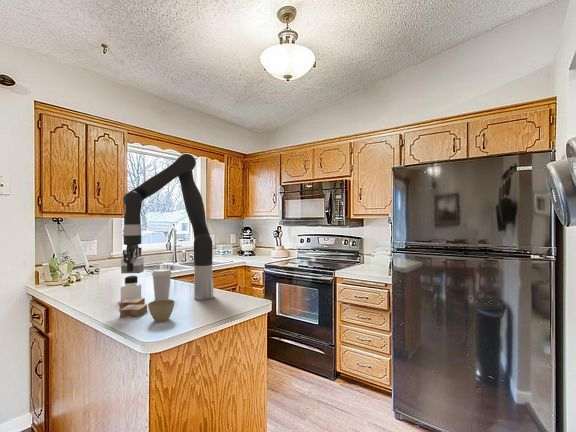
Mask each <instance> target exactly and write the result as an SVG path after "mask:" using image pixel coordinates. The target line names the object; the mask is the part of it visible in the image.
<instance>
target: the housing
mask: <svg viewBox="0 0 576 432" xmlns="http://www.w3.org/2000/svg"><path fill="white" fill-rule="evenodd" d="M130 257H131V256H130ZM126 259H127V258H126ZM130 259H131V258H130ZM144 259H145V258H144V256H141V257H134V258H133V271H132V272H127V264H126V263H124V257H121V258H120V265H121V267H120V268H121V269H120V270H121V271H120V274H121V275H122V274H140V273H144V267H145V266H144V261H145V260H144Z"/></svg>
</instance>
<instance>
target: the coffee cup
mask: <svg viewBox="0 0 576 432" xmlns="http://www.w3.org/2000/svg"><path fill="white" fill-rule="evenodd" d="M171 275H172V271H171V269H170V268H158V269H157V268H156V269H153V271H152V273H151V276H152V281H153V291H154V301H156V300H164V299H169V297H170V286H171V277H172V276H171ZM169 300H170V299H169Z"/></svg>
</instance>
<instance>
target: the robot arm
mask: <svg viewBox="0 0 576 432" xmlns="http://www.w3.org/2000/svg"><path fill="white" fill-rule="evenodd" d="M196 165H197V161H196V158H195V157H194V156H193V155H192V154H190V153H182V154H180V155H179V156H177V158H176V159H175V161H174V162H172V164H170V165H169V166H167V167H166V168H165V169H163V170H161V171H160V172H158V173H155V175H153V176H151V177H149V178H147V179H146V180H145V181H144V182H142V183H141V184H140V185H138V186H137V187H135V188H133V189H132V190H131V189H130V191H128V192H126V193H125V194H124V195H123V197H122V202H123V204H124V205H125V208H124V210H125V213H124V215H123V234H122V235H123V237H122V238H123V245H124V246H126V247H125V249H123V250H122V258H124V263H126V264H127V272H132V271H133V258H134V257H142V250H143V249H142V247H139V245H142V222H141V221H142V220H141V219H142V218H141V216H142V215H141V212H142V202H143V201H144V200H146V199H147V198H149V197H151V196H153V195H154V194H157V192H159V191H160V190H161V189H163V188H165V186H167V185H168V184H169V183H170V182H172V181H173V180H174V179H176V178H178V179H179V182H180V187H181V192H182V193H181V195H182V198H183V203H184V207H185V212H186V214H187V217H188V219H189V222H190V224H191V226H192V227H191V228H192V232H193V239H194V241H193V272H194V273H193V274H194V276H193V285H194V287H193V292H194V293H193V295H194V297H193V298H194V300H196V301H201V300H202V301H203V300H204V301H205V300H212V299H213V297H214V278H213V239H212V237H211V235H210V232H209V228H208V226H207V225H208V224H207V221H206V210H205V206H204V201H203V197H202V194H201V191H200V190H199V188H198V186H197V185H196V183H195V179H194V175H193V171H194V169H195V168H196ZM130 256H131V257H130ZM126 258H127V259H126ZM130 258H131V259H130Z"/></svg>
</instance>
